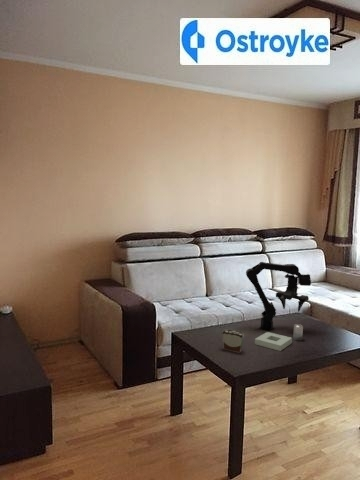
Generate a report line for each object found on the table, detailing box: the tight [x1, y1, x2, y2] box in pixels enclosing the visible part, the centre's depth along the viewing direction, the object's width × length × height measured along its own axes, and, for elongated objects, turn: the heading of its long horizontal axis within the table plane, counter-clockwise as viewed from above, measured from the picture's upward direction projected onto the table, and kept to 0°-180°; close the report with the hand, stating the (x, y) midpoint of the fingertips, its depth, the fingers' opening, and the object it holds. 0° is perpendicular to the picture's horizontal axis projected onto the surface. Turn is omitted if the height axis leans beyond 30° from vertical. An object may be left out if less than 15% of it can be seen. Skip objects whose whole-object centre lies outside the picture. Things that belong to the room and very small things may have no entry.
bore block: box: [254, 331, 293, 352], centre depth 218 cm, size 15×15×3 cm
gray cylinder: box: [292, 323, 304, 342], centre depth 225 cm, size 5×5×8 cm
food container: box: [221, 328, 245, 354], centre depth 209 cm, size 12×6×10 cm, turn 59°
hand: (291, 310), depth 241 cm, fingers open, 9 cm apart
